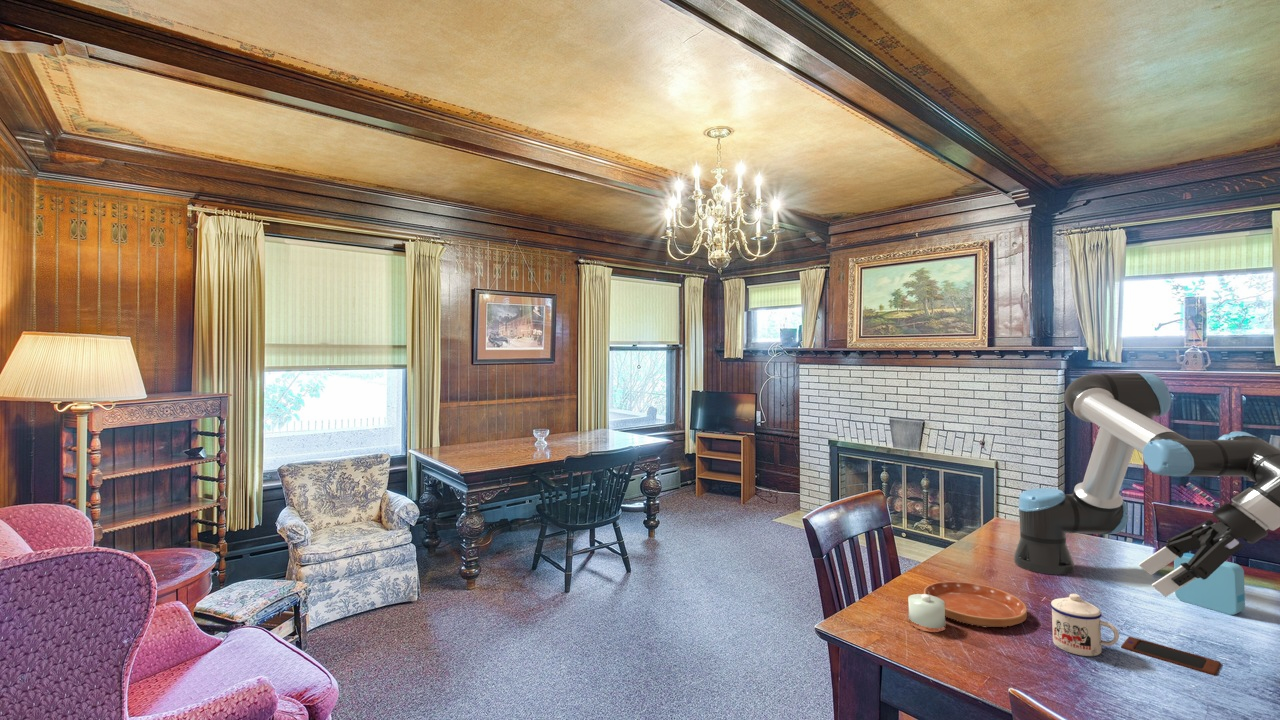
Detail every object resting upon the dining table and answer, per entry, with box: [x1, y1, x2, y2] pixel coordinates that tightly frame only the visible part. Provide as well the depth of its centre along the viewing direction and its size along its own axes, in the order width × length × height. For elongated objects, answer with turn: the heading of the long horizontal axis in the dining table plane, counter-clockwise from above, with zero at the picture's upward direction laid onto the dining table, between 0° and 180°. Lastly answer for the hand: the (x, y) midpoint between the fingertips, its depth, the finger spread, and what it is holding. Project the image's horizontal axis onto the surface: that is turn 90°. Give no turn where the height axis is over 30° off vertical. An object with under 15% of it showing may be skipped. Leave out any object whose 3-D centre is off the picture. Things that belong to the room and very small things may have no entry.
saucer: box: [923, 580, 1028, 628], centre depth 146 cm, size 23×23×4 cm
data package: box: [1173, 552, 1246, 616], centre depth 145 cm, size 12×4×12 cm, turn 24°
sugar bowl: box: [907, 593, 946, 628], centre depth 139 cm, size 8×8×7 cm
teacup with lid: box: [1049, 593, 1120, 657], centre depth 126 cm, size 12×9×12 cm
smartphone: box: [1120, 636, 1222, 677], centre depth 122 cm, size 7×1×15 cm
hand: (1150, 579), depth 119 cm, fingers open, 13 cm apart
